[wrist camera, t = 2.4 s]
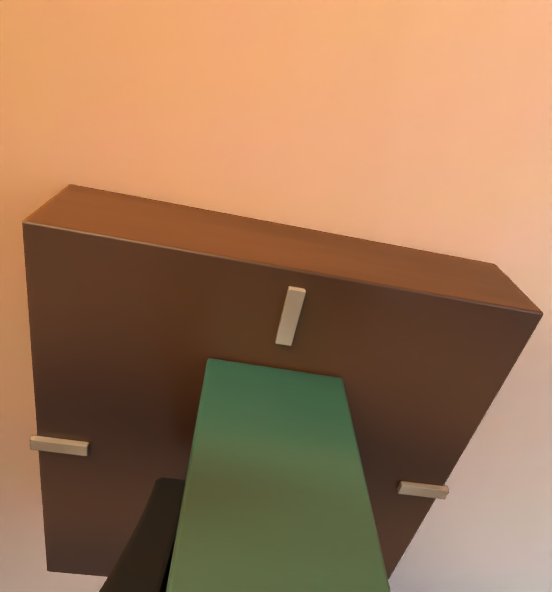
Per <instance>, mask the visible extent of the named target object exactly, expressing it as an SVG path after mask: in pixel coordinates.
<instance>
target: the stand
mask: <svg viewBox="0 0 552 592" xmlns="http://www.w3.org/2000/svg"><path fill="white" fill-rule="evenodd" d="M22 225H23V239H24V253H25V267H26V281H27V295H28V309H29V323H30V337H31V351H32V365H33V379H34V393H35V407H36V421H37V435H38V436H34V435H32V437H31V438H30V449H31V450H39V463H40V477H41V491H42V505H43V519H44V533H45V547H46V561H47V571H50V572H61V573H72V574H84V575H95V576H106V577H108V576H109V575H110V573H111V571H112V570H113V568H114V566H115V564H116V563H117V561H118V559H119V557H120V555H121V554H122V552H123V550H124V548H125V546H126V545H127V543H128V541H129V539H130V537H131V536H132V534H133V532H134V530H135V528H136V526H137V524H138V522H139V520H140V518H141V516H142V513H143V511H144V509H145V507H146V505H147V502H148V500H149V497H150V495H151V493H152V490H153V487H154V484H155V481H156V480H157V479H159V478H161V477H163V478H172V479H180V480H186V475H187V470H188V464H189V458H190V453H191V447H192V441H193V436H194V430H195V425H196V419H197V413H198V408H199V402H200V396H201V391H202V385H203V379H204V374H205V368H206V362H207V360H208V359H209V358H213V359H220V360H226V361H233V362H240V363H246V364H253V365H260V366H266V367H273V368H280V369H286V370H293V371H299V372H306V373H313V374H319V375H326V376H333V377H339V378H342V379H343V382H344V387H345V391H346V396H347V400H348V405H349V409H350V414H351V418H352V422H353V427H354V431H355V436H356V440H357V445H358V449H359V454H360V458H361V463H362V467H363V472H364V476H365V480H366V485H367V489H368V494H369V498H370V503H371V507H372V512H373V516H374V521H375V525H376V529H377V534H378V538H379V543H380V547H381V552H382V556H383V561H384V565H385V570H386V574H387V579H389V578H390V576H391V574H392V573H393V571H394V569H395V567H396V566H397V564H398V562H399V561H400V559H401V557H402V556H403V554H404V552H405V550H406V549H407V547H408V545H409V544H410V542H411V540H412V538H413V537H414V535H415V533H416V532H417V530H418V528H419V526H420V525H421V523H422V521H423V520H424V518H425V516H426V514H427V513H428V511H429V509H430V508H431V506H432V504H433V503H434V501H435V499H436V498H438V499H445V498H446V496H447V495H448V493H449V489H448V487H446V486H443V485H444V484H445V482H446V480H447V479H448V477H449V475H450V473H451V472H452V470H453V468H454V467H455V465H456V463H457V461H458V460H459V458H460V456H461V455H462V453H463V451H464V449H465V448H466V446H467V444H468V443H469V441H470V439H471V438H472V436H473V434H474V432H475V431H476V429H477V427H478V426H479V424H480V422H481V420H482V419H483V417H484V415H485V414H486V412H487V410H488V408H489V407H490V405H491V403H492V402H493V400H494V398H495V396H496V395H497V393H498V391H499V390H500V388H501V386H502V385H503V383H504V381H505V379H506V378H507V376H508V374H509V373H510V371H511V369H512V367H513V366H514V364H515V362H516V361H517V359H518V357H519V355H520V354H521V352H522V350H523V349H524V347H525V345H526V343H527V342H528V340H529V338H530V337H531V335H532V333H533V332H534V330H535V328H536V326H537V325H538V323H539V321H540V320H541V318H542V316H543V312H542V311H541V310H540V309H539V308H538V307H537V306H536V305H535V304H534V303H533V302H532V301H531V300H530V299H529V298H528V297H527V296H526V295H525V294H524V293H523V292H522V291H521V290H520V289H519V288H518V287H517V286H516V285H515V284H514V283H513V282H512V281H511V280H510V279H509V278H508V277H507V276H506V275H505V274H504V273H503V272H502V271H501V270H500V269H499V268H498V267H497V266H496V265H495V264H491V263H486V262H480V261H475V260H470V259H464V258H459V257H454V256H448V255H443V254H438V253H433V252H427V251H422V250H417V249H411V248H406V247H401V246H395V245H390V244H385V243H379V242H374V241H369V240H363V239H358V238H353V237H348V236H342V235H337V234H332V233H326V232H321V231H316V230H310V229H305V228H300V227H294V226H289V225H284V224H278V223H273V222H268V221H262V220H257V219H252V218H247V217H241V216H236V215H231V214H225V213H220V212H215V211H209V210H204V209H199V208H193V207H188V206H183V205H177V204H172V203H167V202H162V201H156V200H151V199H146V198H140V197H135V196H130V195H124V194H119V193H114V192H108V191H103V190H98V189H92V188H87V187H82V186H77V185H68V186H67V187H66V188H64V189H63V190H62V191H61V192H59V193H58V194H57V195H55V196H54V197H53V198H52V199H50V200H49V201H48V202H46V203H45V204H44V205H43V206H41V207H40V208H39V209H37V210H36V211H35V212H34V213H32V214H31V215H30V216H28V217H27V218H26V219H25V220H23V223H22Z"/></svg>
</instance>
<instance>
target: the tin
mask: <svg viewBox="0 0 552 592" xmlns="http://www.w3.org/2000/svg"><path fill="white" fill-rule="evenodd" d="M166 592H390V587H389V583H388V579H387V574H386V570H385V565H384V561H383V556H382V552H381V547H380V543H379V538H378V534H377V529H376V525H375V521H374V516H373V512H372V507H371V503H370V498H369V494H368V489H367V485H366V480H365V476H364V472H363V467H362V463H361V458H360V454H359V449H358V445H357V440H356V436H355V431H354V427H353V422H352V418H351V414H350V409H349V405H348V400H347V396H346V391H345V387H344V382H343V379H342V378H339V377H333V376H326V375H319V374H313V373H306V372H299V371H293V370H286V369H280V368H273V367H266V366H260V365H253V364H246V363H240V362H233V361H226V360H220V359H213V358H209V359H208V360H207V362H206V368H205V374H204V379H203V385H202V391H201V396H200V402H199V408H198V413H197V419H196V425H195V430H194V436H193V441H192V447H191V453H190V458H189V464H188V470H187V475H186V481H185V487H184V492H183V498H182V504H181V509H180V515H179V520H178V526H177V532H176V537H175V543H174V549H173V554H172V560H171V566H170V571H169V577H168V583H167V588H166Z"/></svg>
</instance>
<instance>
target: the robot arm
mask: <svg viewBox="0 0 552 592" xmlns="http://www.w3.org/2000/svg"><path fill="white" fill-rule="evenodd" d="M185 481H186V480H180V479H172V478H163V477H161V478H159V479H157V480H156V481H155V484H154V487H153V490H152V493H151V495H150V497H149V500H148V502H147V505H146V507H145V509H144V511H143V513H142V516H141V518H140V520H139V522H138V524H137V526H136V528H135V530H134V532H133V534H132V536H131V537H130V539H129V541H128V543H127V545H126V546H125V548H124V550H123V552H122V554H121V555H120V557H119V559H118V561H117V563H116V564H115V566H114V568H113V570H112V571H111V573H110V575H109V576H108V578H107V580H106V581H105V583H104V585H103V586H102V588H101V589H100V591H99V592H166V588H167V583H168V577H169V571H170V566H171V560H172V554H173V549H174V543H175V537H176V532H177V526H178V520H179V515H180V509H181V504H182V498H183V492H184V487H185Z"/></svg>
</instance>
